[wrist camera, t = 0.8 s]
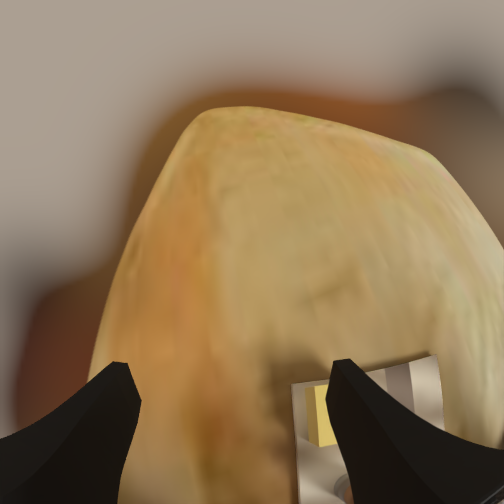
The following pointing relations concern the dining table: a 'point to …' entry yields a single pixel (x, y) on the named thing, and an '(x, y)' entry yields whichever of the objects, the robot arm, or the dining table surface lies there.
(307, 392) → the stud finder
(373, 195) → the dining table surface
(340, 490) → the grey-capped tan cylinder
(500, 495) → the hammer
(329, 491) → the striped beige square plate
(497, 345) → the dining table surface
